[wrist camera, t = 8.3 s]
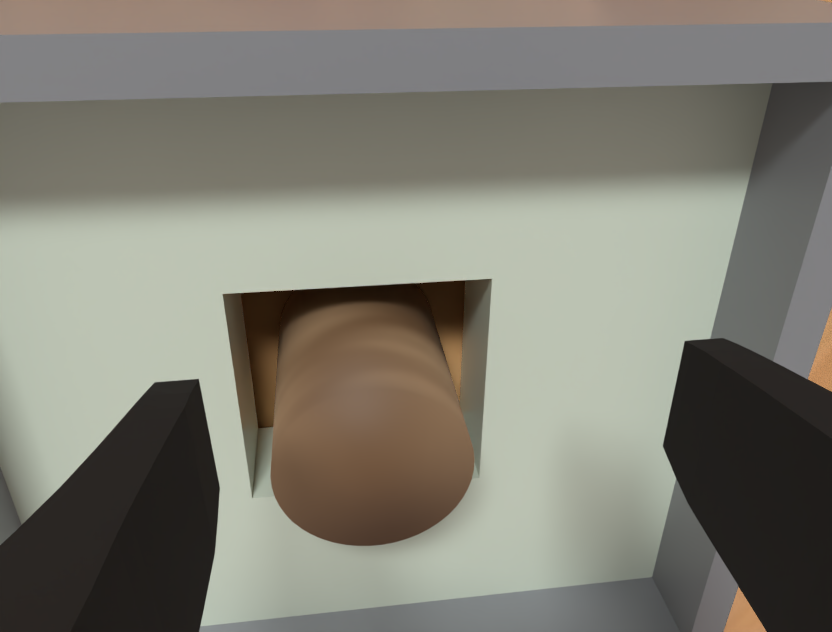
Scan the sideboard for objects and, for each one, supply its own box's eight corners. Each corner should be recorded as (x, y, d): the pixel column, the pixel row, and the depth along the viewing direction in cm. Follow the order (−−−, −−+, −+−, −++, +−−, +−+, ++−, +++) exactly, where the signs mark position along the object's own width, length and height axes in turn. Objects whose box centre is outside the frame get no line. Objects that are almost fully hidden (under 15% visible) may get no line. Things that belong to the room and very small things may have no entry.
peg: (429, 252, 20) (472, 376, 15) (436, 383, 22) (476, 531, 17) (267, 271, 19) (254, 404, 14) (291, 402, 22) (287, 558, 16)
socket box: (758, -12, 17) (926, 21, 13) (639, 527, 26) (712, 663, 22) (-138, -4, 15) (-341, 39, 10) (66, 584, 24) (7, 751, 19)
